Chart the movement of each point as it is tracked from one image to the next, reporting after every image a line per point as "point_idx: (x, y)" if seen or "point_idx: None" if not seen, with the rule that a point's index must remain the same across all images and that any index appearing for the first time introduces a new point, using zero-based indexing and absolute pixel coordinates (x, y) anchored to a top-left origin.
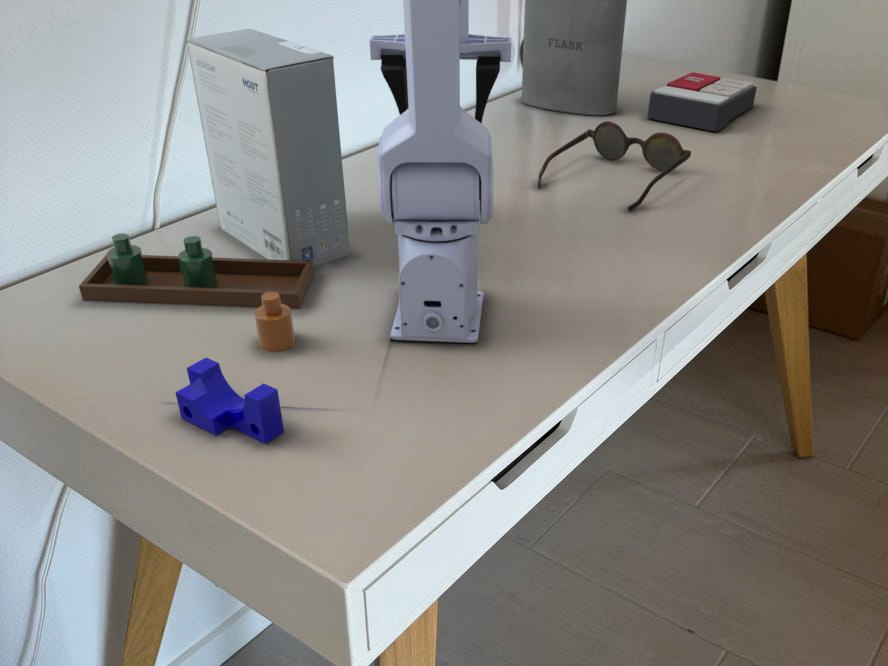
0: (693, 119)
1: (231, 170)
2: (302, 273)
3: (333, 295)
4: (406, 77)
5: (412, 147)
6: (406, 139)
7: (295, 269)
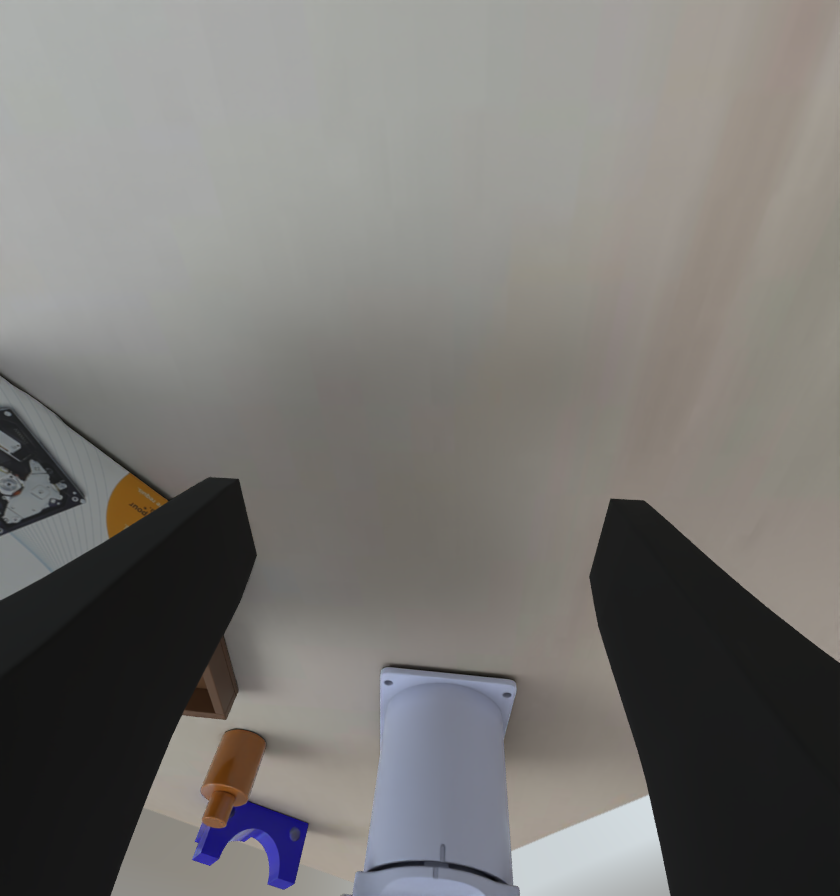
0: None
1: None
2: (205, 678)
3: (270, 659)
4: (34, 838)
5: None
6: None
7: None
